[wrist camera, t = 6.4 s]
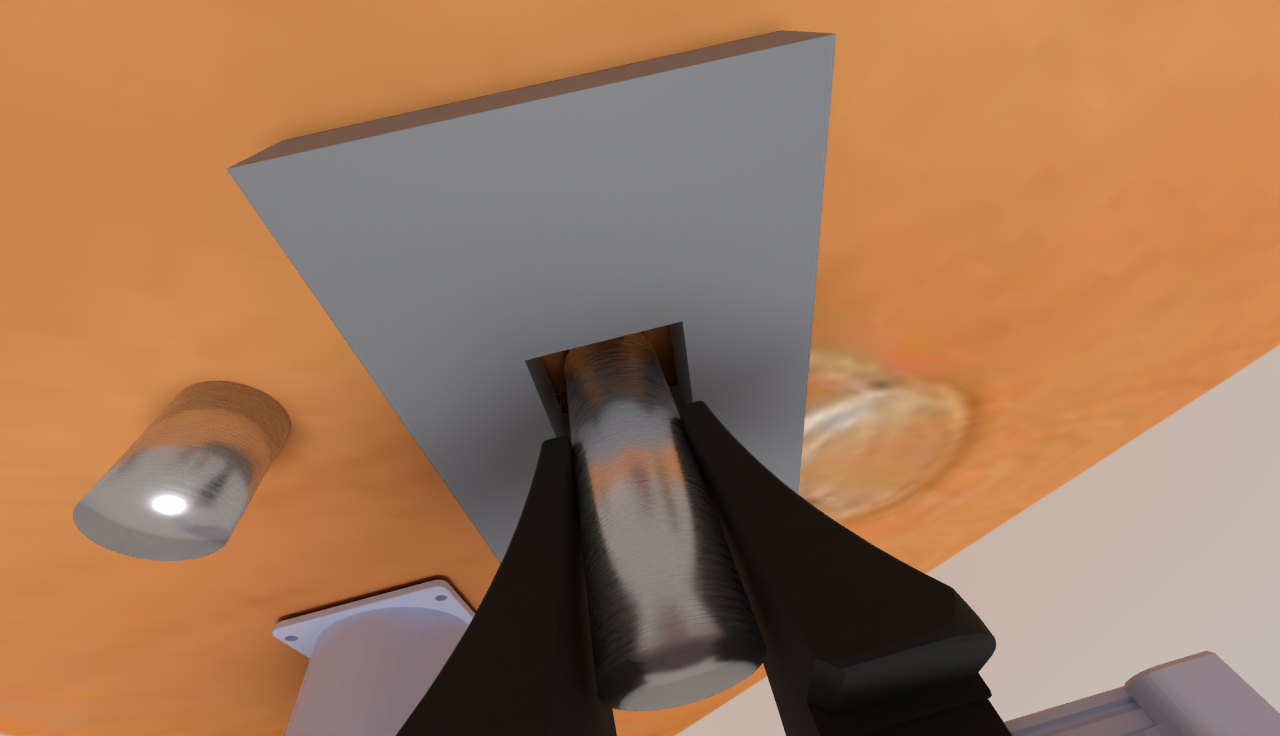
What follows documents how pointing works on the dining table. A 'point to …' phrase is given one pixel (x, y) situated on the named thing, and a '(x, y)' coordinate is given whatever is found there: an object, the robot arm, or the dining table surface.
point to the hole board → (571, 249)
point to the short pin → (187, 474)
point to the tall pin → (651, 539)
